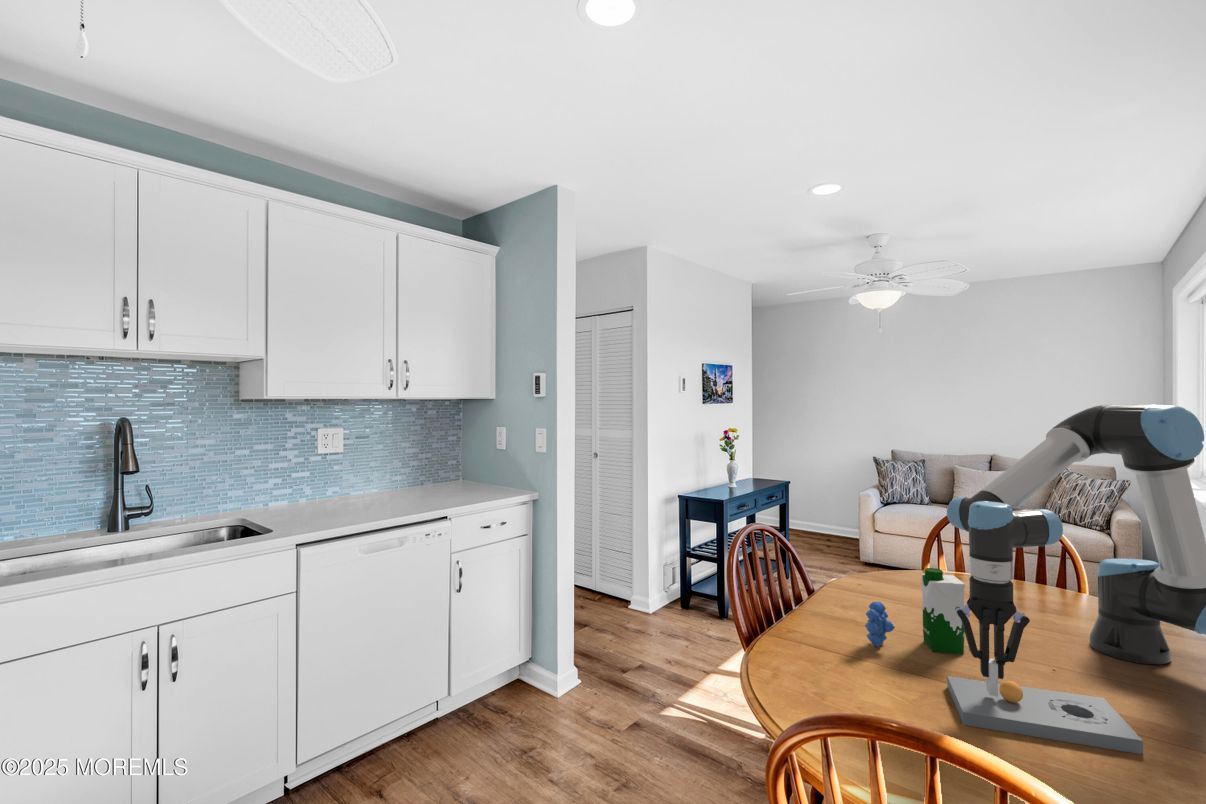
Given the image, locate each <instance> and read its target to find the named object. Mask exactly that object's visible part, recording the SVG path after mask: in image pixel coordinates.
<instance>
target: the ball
mask: <svg viewBox="0 0 1206 804" xmlns="http://www.w3.org/2000/svg"><path fill="white" fill-rule="evenodd" d="M1020 686H1021V685H1020V684H1018V683H1017V682H1015V681H1012V680H1004V681H1002V682H1001V684H1000V687H999V691H1000V694H1001V696H1002V697H1003V698H1004V699H1005V700H1007V701H1009V702H1012V703H1016V702H1019V701H1021V699H1022V698H1023V691H1022V689H1021V687H1020Z"/></svg>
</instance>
